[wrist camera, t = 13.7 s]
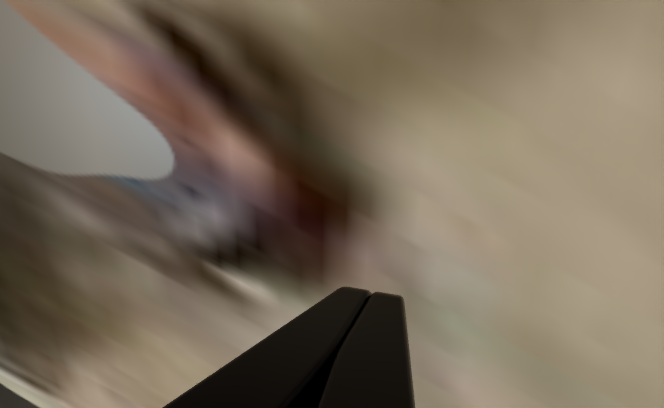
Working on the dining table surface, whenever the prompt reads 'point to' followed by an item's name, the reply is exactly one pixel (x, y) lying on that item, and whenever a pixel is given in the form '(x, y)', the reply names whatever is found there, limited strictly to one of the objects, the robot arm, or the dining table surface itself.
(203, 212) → the dining table surface
